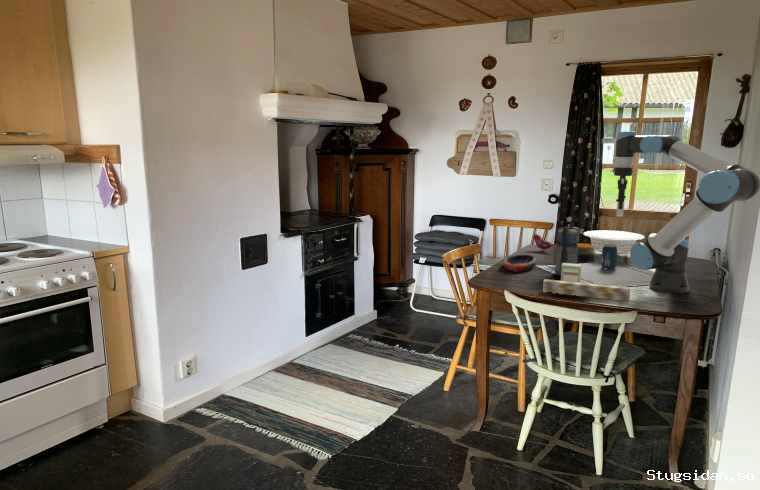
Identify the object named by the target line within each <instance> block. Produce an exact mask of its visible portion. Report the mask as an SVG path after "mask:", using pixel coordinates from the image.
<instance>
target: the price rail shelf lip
mask: <svg viewBox="0 0 760 490" xmlns="http://www.w3.org/2000/svg"><path fill="white" fill-rule="evenodd" d="M542 292H543V293H547V292H552V293H551V294H556V293H559V294H558V295H565V294H566V296H567V295H568V296H575V295H576V296H577V297H586V298H587V297H588V298H594V299H595V298H596V299H605V300H614V301H621V302H623V301H625V302H630V297H631V287H629V286H618V285H607V284H596V283H586V282H585V283H584V282H580V283H577V282H567V281H561V280H555V279H545V278H544V279H543V283H542Z"/></svg>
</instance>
